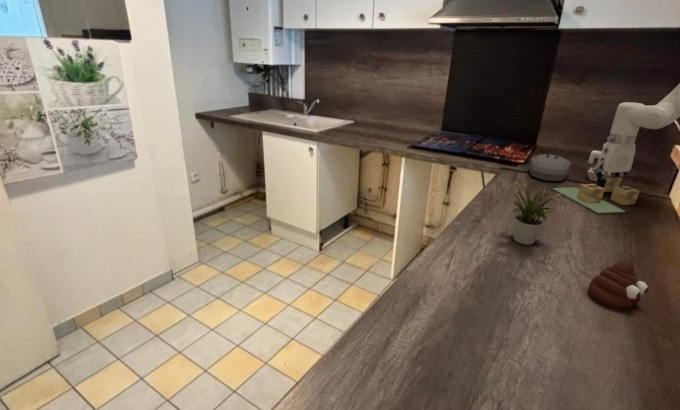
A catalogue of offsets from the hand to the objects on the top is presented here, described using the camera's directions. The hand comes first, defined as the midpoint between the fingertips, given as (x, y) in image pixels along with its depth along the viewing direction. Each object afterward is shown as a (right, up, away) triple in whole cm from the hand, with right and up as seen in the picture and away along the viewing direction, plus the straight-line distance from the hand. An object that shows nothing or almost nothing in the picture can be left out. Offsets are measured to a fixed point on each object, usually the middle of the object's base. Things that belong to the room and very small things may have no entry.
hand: (606, 188), depth 131 cm
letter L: (0, 0, 0) cm, 0 cm away
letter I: (-11, -4, -7) cm, 14 cm away
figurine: (+7, +4, +14) cm, 16 cm away
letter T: (0, -5, -7) cm, 9 cm away
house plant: (-49, -16, -33) cm, 61 cm away
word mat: (-11, -4, -6) cm, 14 cm away
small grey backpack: (-11, +6, +18) cm, 22 cm away
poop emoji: (-40, -26, -56) cm, 74 cm away
